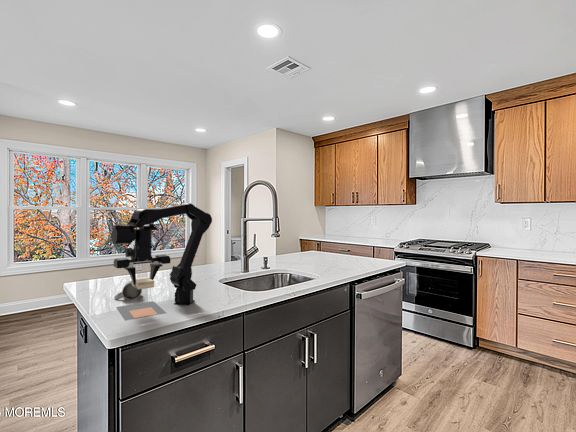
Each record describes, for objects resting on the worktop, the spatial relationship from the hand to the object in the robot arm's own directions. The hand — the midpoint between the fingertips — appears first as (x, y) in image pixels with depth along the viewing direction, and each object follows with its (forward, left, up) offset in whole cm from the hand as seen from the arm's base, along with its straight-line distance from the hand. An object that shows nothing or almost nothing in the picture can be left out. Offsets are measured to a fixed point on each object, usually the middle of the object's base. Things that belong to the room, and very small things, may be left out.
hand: (142, 283), depth 117 cm
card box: (0, 0, -1) cm, 1 cm away
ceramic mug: (+17, -16, -11) cm, 26 cm away
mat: (+2, -2, -11) cm, 11 cm away
